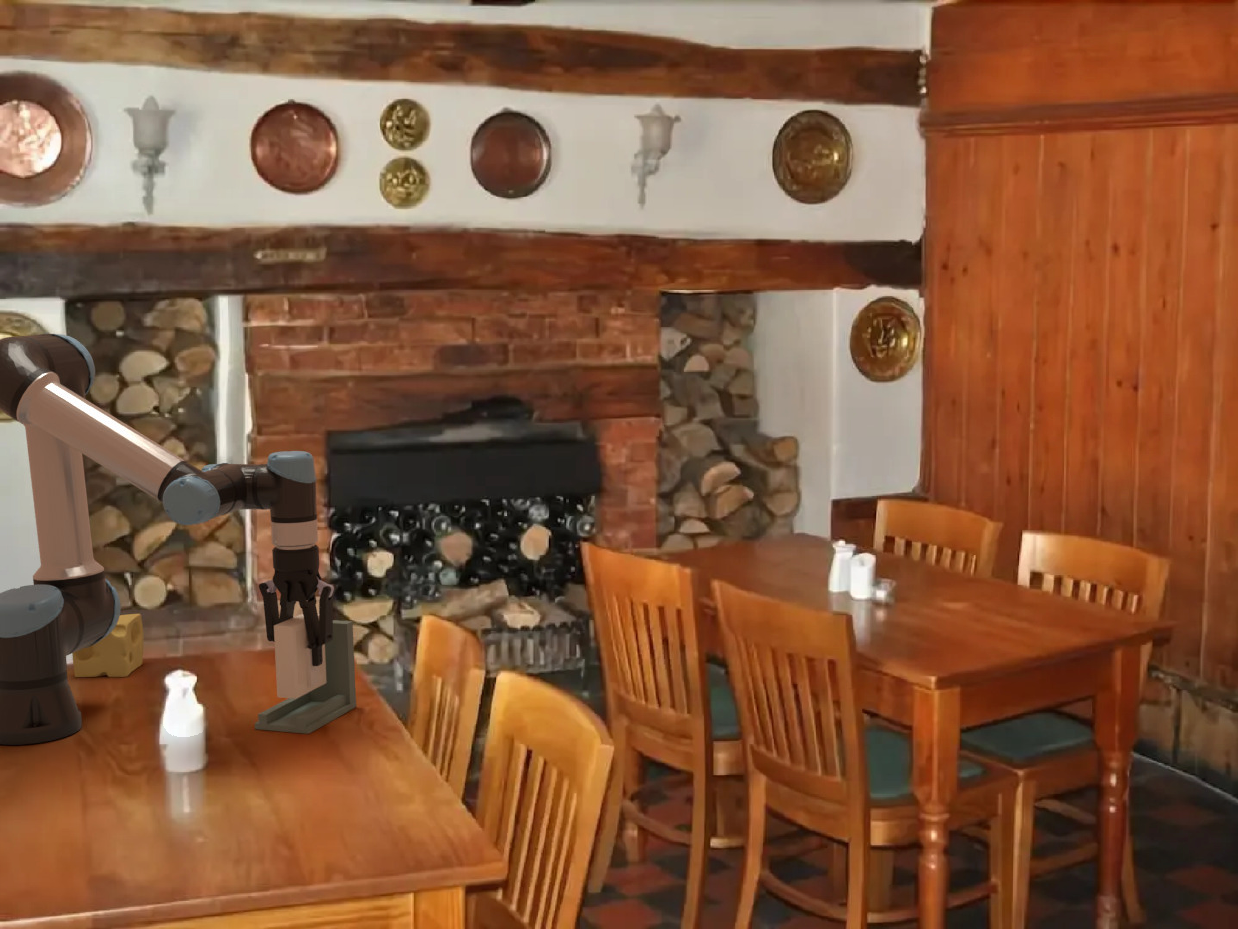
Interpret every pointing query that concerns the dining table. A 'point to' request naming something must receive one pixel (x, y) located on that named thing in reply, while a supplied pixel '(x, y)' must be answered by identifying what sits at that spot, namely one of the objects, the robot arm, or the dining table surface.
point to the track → (320, 691)
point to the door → (294, 658)
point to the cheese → (113, 651)
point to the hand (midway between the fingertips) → (301, 683)
